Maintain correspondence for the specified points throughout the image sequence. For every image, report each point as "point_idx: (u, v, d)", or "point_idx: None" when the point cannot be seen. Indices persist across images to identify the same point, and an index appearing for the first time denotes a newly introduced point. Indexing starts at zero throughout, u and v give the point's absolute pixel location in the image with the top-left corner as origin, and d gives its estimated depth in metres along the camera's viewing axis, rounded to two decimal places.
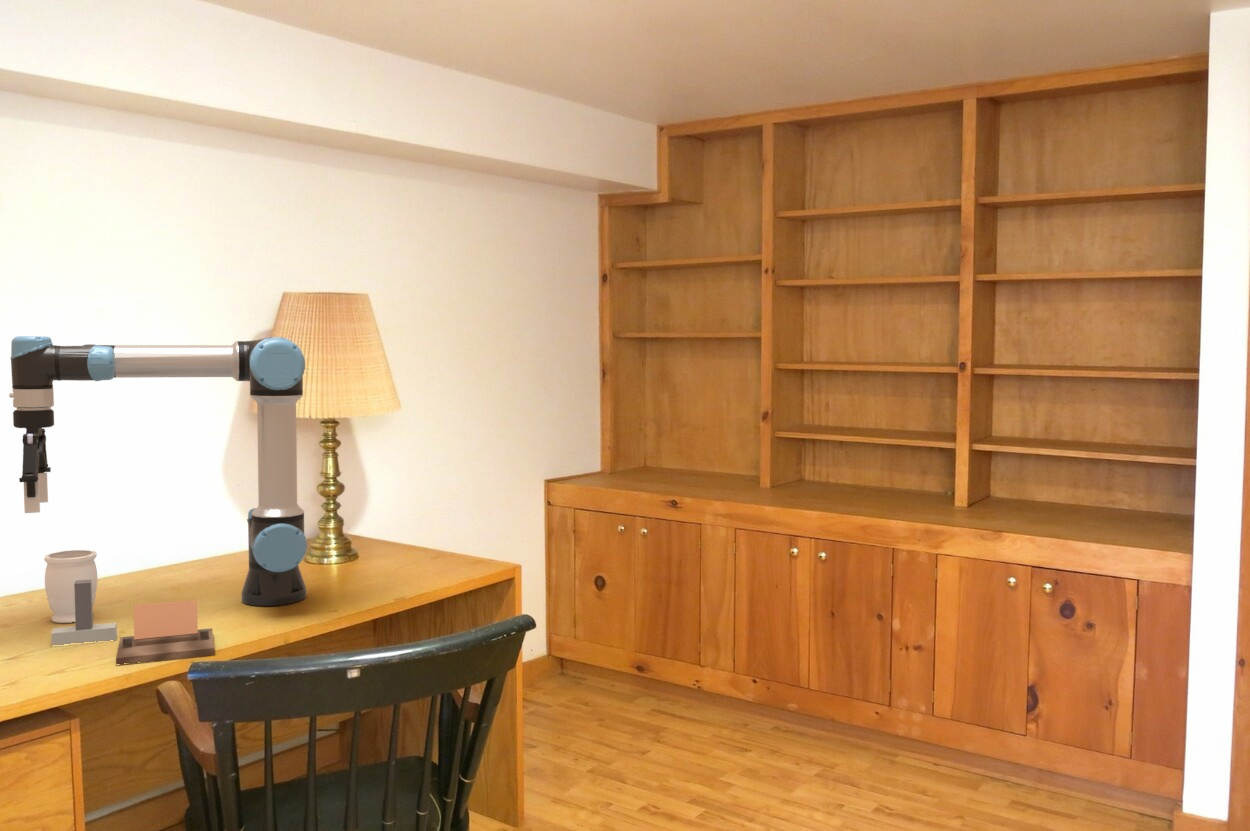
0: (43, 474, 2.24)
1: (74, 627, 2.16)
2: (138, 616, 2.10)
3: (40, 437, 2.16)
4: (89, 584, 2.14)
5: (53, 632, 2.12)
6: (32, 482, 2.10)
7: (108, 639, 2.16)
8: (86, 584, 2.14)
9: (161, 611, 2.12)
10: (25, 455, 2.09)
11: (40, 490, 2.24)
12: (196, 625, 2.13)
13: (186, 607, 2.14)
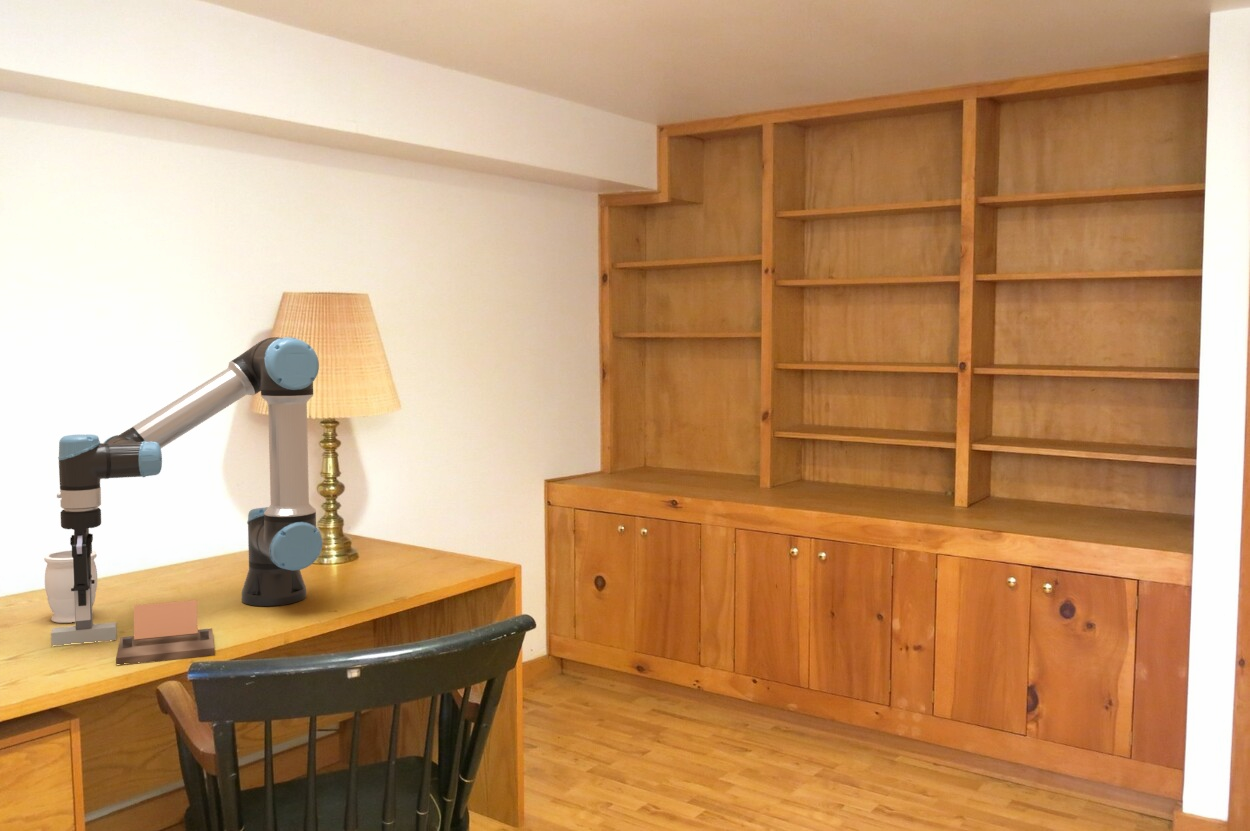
0: None
1: (74, 627, 2.16)
2: (138, 616, 2.10)
3: (88, 539, 2.13)
4: (89, 584, 2.14)
5: (53, 632, 2.12)
6: (83, 591, 2.12)
7: (108, 639, 2.16)
8: None
9: (161, 611, 2.12)
10: (75, 566, 2.09)
11: None
12: (196, 625, 2.13)
13: (186, 607, 2.14)
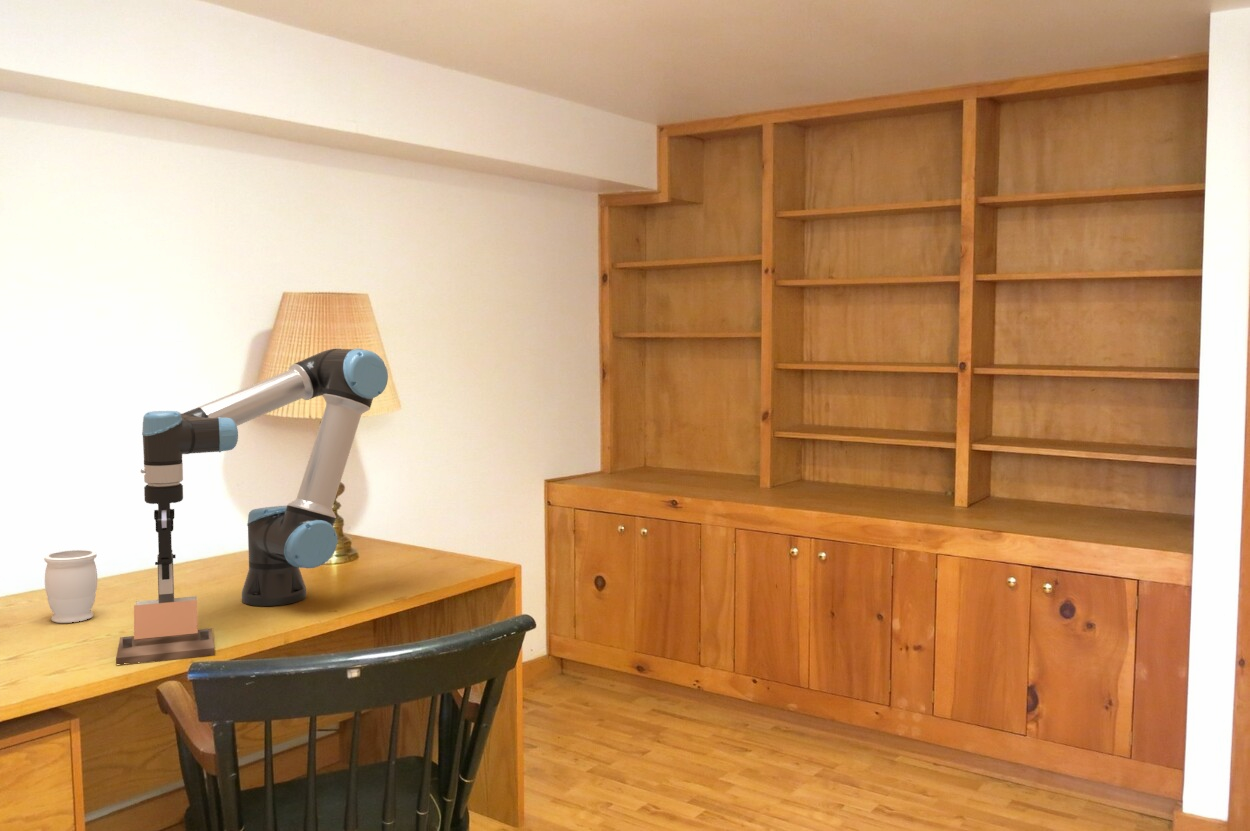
0: None
1: (156, 600, 2.19)
2: (138, 616, 2.10)
3: (171, 513, 2.16)
4: None
5: None
6: (167, 565, 2.15)
7: None
8: None
9: (161, 611, 2.12)
10: (160, 540, 2.12)
11: None
12: (196, 625, 2.13)
13: (186, 607, 2.14)
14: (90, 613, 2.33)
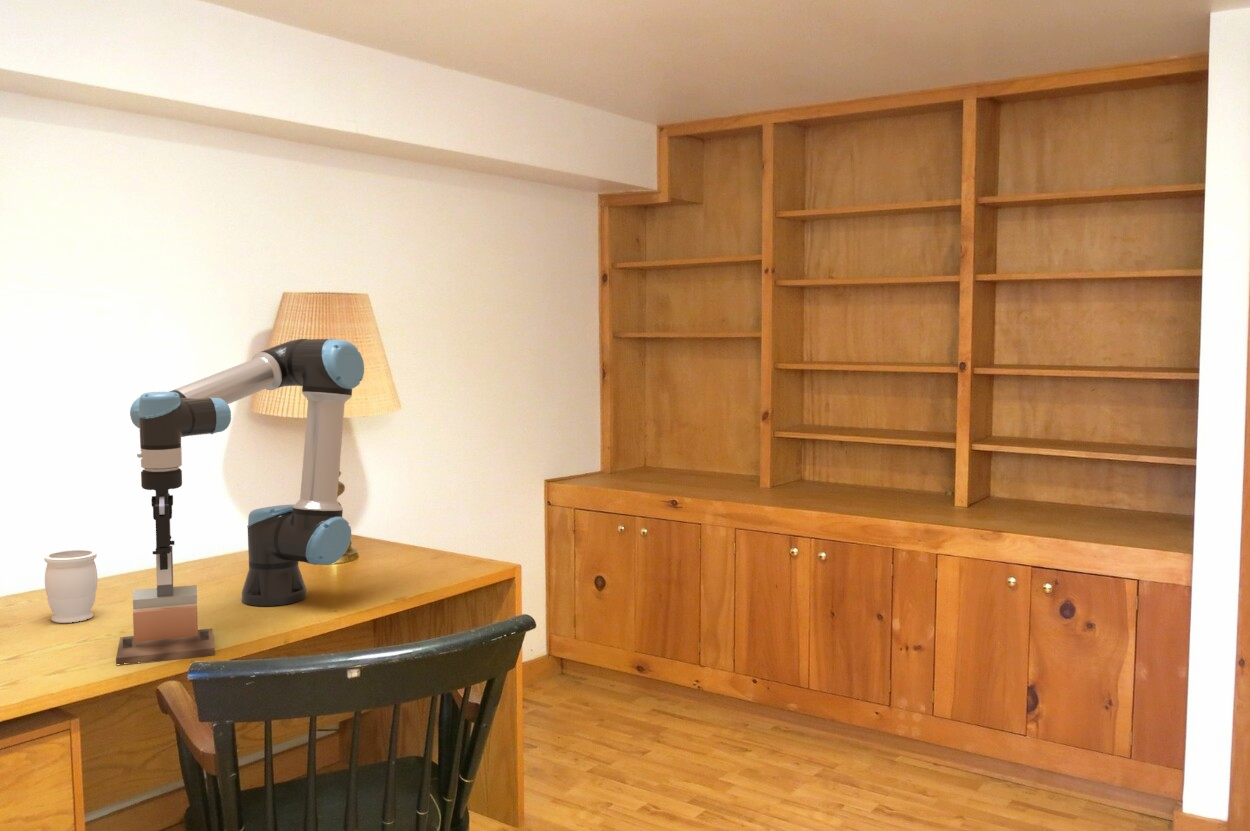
0: None
1: (154, 590, 2.10)
2: (137, 622, 2.06)
3: (169, 500, 2.05)
4: (171, 554, 2.06)
5: (134, 598, 2.06)
6: (165, 554, 2.03)
7: None
8: None
9: (161, 617, 2.08)
10: (158, 527, 2.01)
11: None
12: (196, 629, 2.12)
13: (186, 613, 2.10)
14: (90, 613, 2.33)
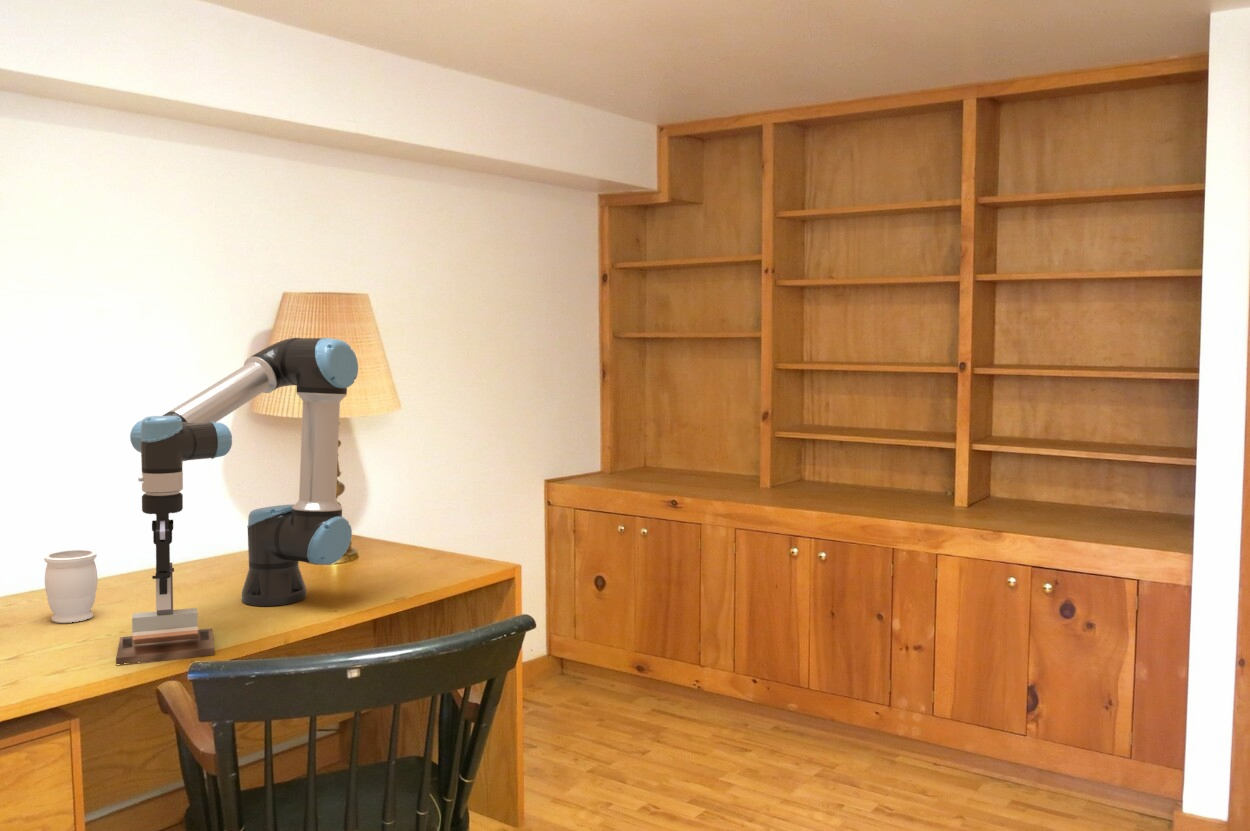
0: None
1: (154, 612, 2.07)
2: (137, 640, 2.04)
3: (169, 524, 2.04)
4: (171, 567, 2.05)
5: (134, 617, 2.03)
6: (165, 579, 2.03)
7: (190, 625, 2.07)
8: None
9: (161, 638, 2.05)
10: (158, 552, 2.00)
11: None
12: (196, 637, 2.11)
13: (187, 635, 2.07)
14: (90, 613, 2.33)
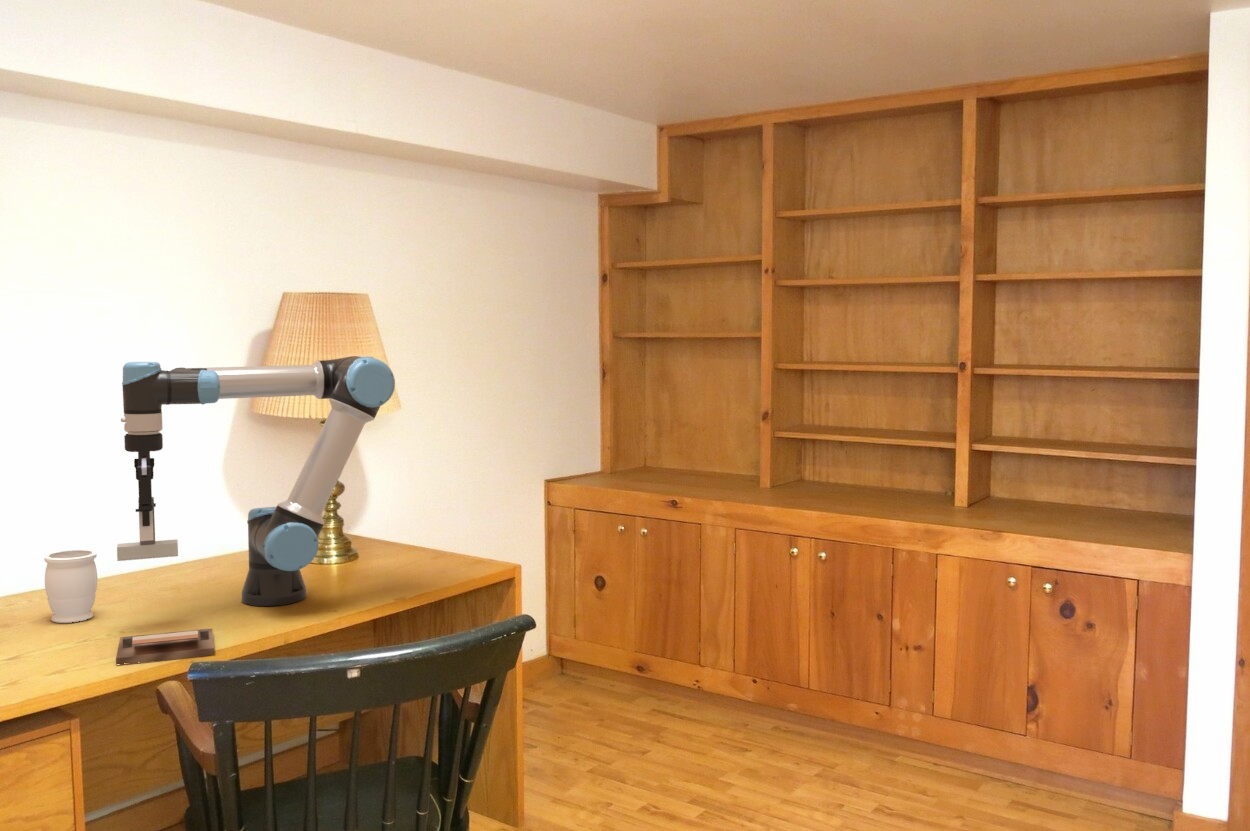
0: None
1: (138, 543, 2.24)
2: None
3: (150, 462, 2.21)
4: (152, 500, 2.22)
5: (118, 546, 2.20)
6: (147, 511, 2.20)
7: (171, 554, 2.24)
8: None
9: (161, 641, 2.05)
10: (140, 487, 2.17)
11: None
12: (196, 638, 2.11)
13: None
14: (90, 613, 2.33)
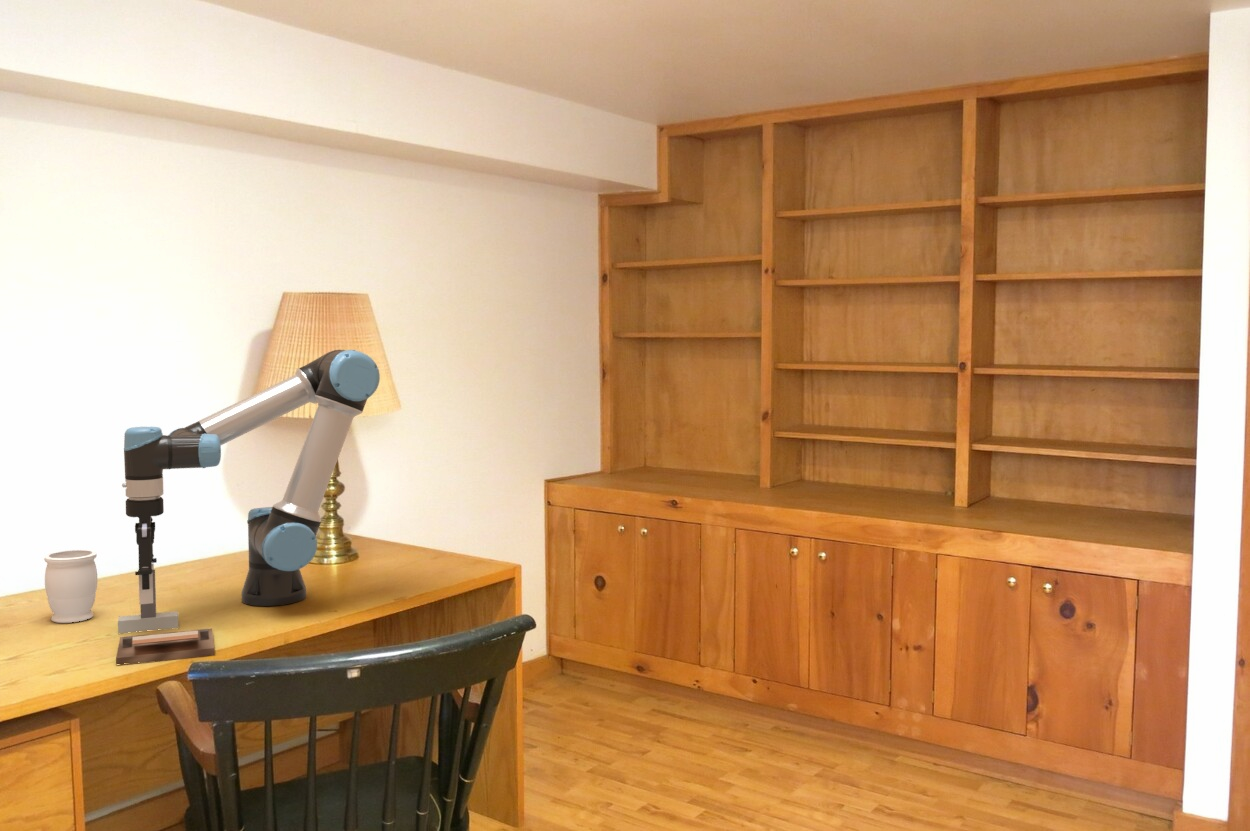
0: None
1: (138, 615, 2.25)
2: None
3: (151, 526, 2.22)
4: (153, 574, 2.24)
5: (119, 620, 2.22)
6: (147, 575, 2.18)
7: (171, 627, 2.25)
8: None
9: (161, 641, 2.05)
10: (140, 549, 2.17)
11: None
12: (196, 638, 2.11)
13: None
14: (90, 613, 2.33)
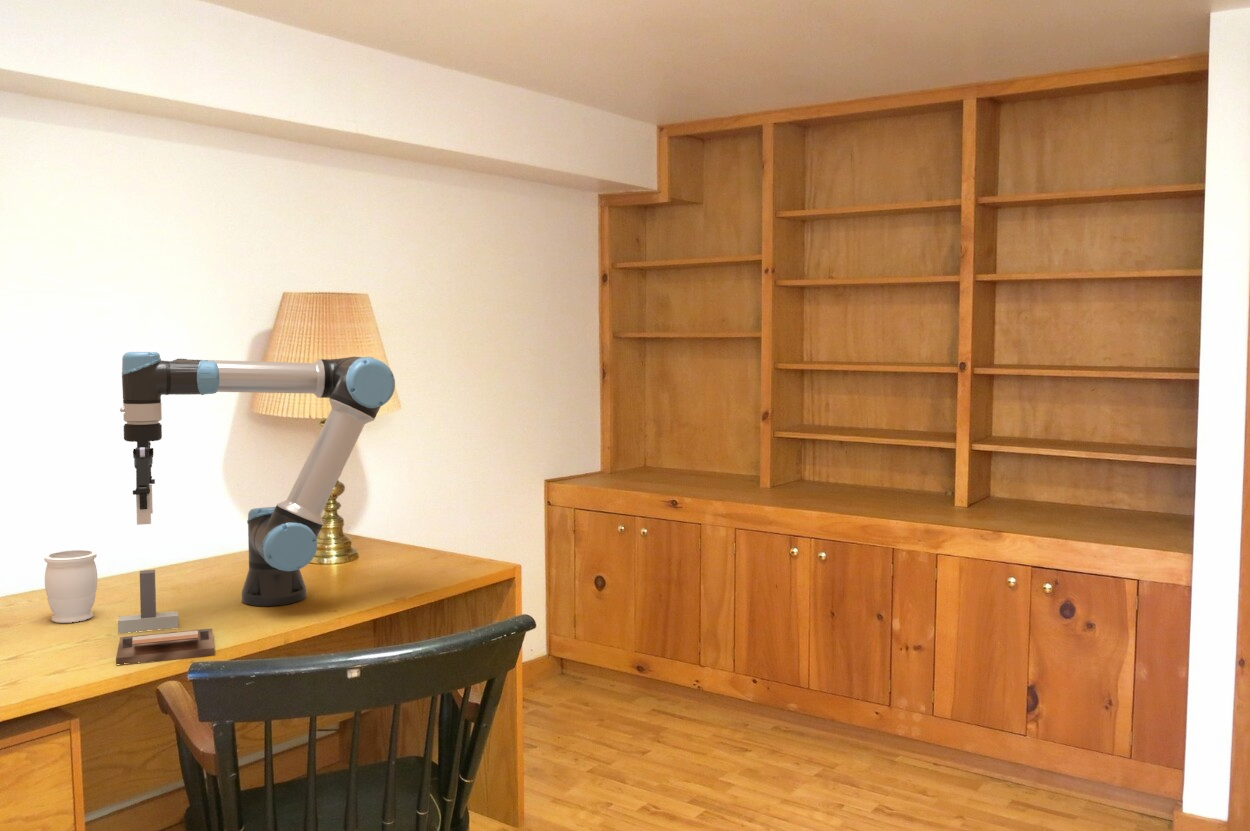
0: (149, 486, 2.29)
1: (138, 615, 2.25)
2: None
3: (149, 450, 2.21)
4: (153, 574, 2.24)
5: (119, 620, 2.22)
6: (145, 494, 2.15)
7: (171, 627, 2.25)
8: (151, 574, 2.23)
9: (161, 641, 2.05)
10: (138, 468, 2.15)
11: None
12: (196, 638, 2.11)
13: None
14: (90, 613, 2.33)
